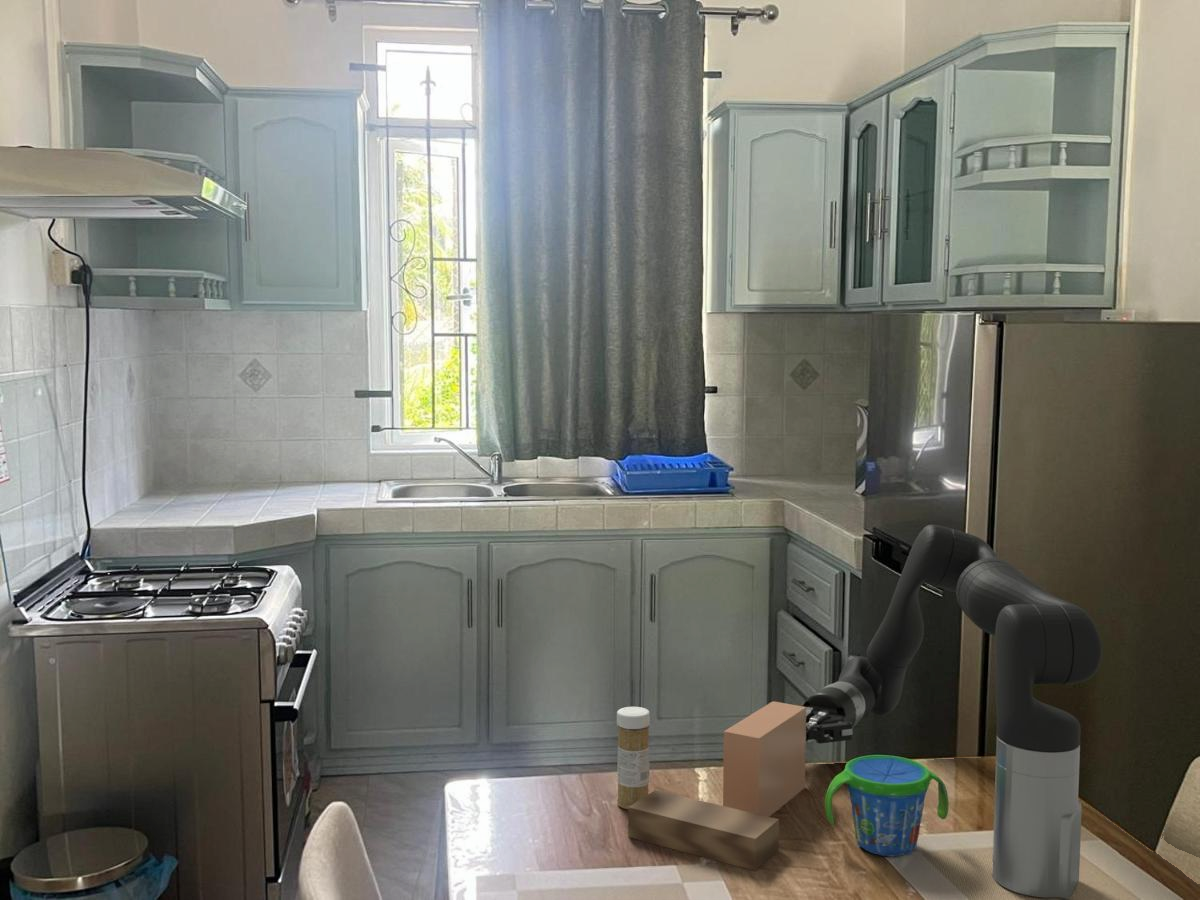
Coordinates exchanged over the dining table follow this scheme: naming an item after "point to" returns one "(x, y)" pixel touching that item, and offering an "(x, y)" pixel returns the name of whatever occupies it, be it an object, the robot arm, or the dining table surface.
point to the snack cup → (886, 801)
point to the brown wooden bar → (704, 829)
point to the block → (765, 759)
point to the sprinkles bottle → (633, 755)
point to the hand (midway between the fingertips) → (790, 740)
